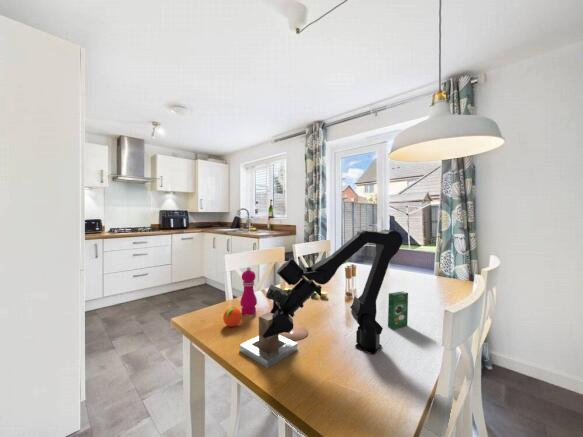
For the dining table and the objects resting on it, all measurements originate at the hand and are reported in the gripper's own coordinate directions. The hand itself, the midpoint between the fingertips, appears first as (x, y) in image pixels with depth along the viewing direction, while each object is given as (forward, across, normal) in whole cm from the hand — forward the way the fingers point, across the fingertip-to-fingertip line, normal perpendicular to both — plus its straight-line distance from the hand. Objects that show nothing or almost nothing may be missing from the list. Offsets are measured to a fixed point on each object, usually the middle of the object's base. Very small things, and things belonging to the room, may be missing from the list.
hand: (264, 329), depth 79 cm
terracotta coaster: (-2, -11, +12) cm, 16 cm away
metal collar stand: (+4, 0, +6) cm, 7 cm away
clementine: (+14, -18, -5) cm, 23 cm away
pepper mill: (+11, -31, -1) cm, 33 cm away
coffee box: (-31, -14, +41) cm, 53 cm away
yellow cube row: (-8, -49, +19) cm, 53 cm away
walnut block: (+4, 0, +6) cm, 7 cm away
